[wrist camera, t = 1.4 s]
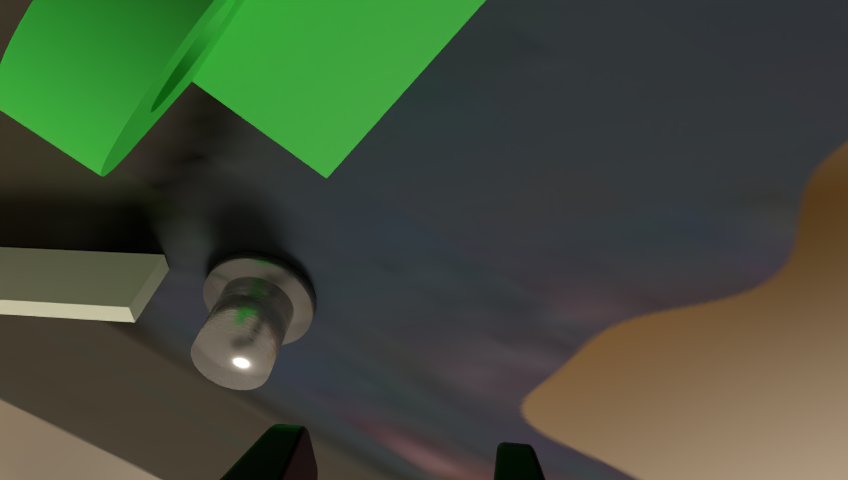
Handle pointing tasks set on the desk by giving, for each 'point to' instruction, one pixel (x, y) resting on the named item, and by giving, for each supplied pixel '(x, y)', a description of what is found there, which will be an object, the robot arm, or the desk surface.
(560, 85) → the desk surface
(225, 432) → the desk surface
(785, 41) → the desk surface
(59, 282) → the white u-shaped handle
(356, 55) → the mechanical part
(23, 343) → the desk surface
